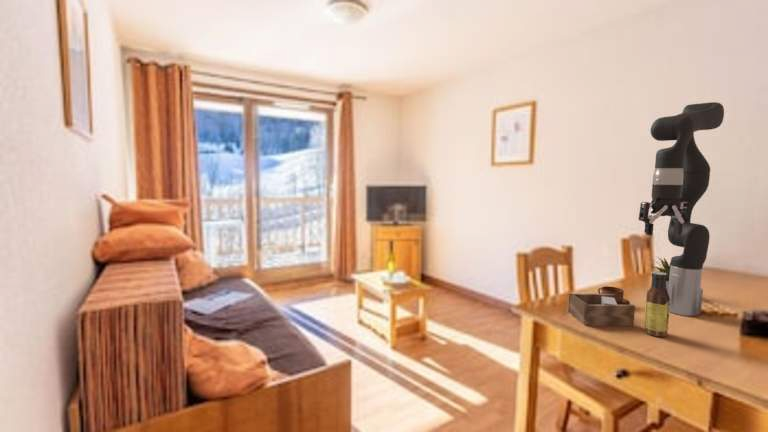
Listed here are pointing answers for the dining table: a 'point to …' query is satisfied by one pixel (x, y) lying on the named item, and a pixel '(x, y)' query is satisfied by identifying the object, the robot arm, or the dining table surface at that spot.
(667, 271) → the house plant
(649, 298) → the sauce bottle
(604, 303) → the offcut top
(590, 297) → the wooden box
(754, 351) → the dining table surface
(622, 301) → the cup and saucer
